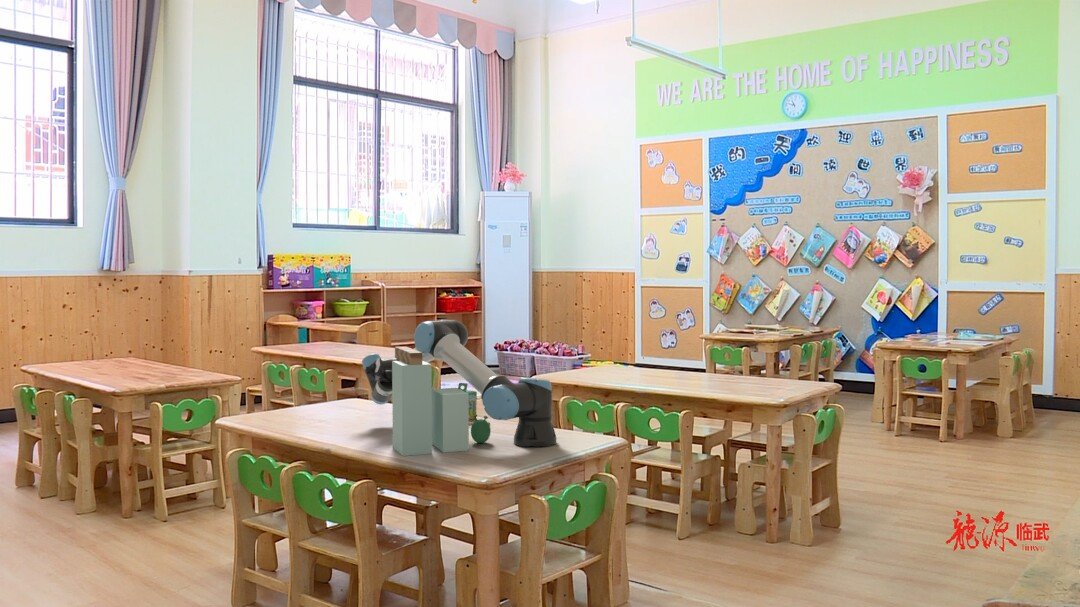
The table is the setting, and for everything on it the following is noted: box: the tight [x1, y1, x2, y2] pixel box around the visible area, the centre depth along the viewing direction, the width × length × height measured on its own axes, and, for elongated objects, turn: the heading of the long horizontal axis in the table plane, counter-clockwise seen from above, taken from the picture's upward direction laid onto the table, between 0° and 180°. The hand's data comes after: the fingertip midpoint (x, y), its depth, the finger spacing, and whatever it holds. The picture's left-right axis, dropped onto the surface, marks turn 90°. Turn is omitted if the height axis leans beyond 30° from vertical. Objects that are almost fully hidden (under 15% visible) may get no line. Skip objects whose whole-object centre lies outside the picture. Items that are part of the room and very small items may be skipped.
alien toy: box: [470, 414, 491, 444], centre depth 315 cm, size 7×8×10 cm
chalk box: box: [457, 382, 478, 421], centre depth 364 cm, size 9×9×15 cm
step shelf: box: [391, 361, 470, 457], centre depth 304 cm, size 16×23×30 cm
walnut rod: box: [394, 346, 422, 365], centre depth 305 cm, size 24×4×4 cm, turn 22°
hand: (397, 361), depth 323 cm, fingers open, 13 cm apart
